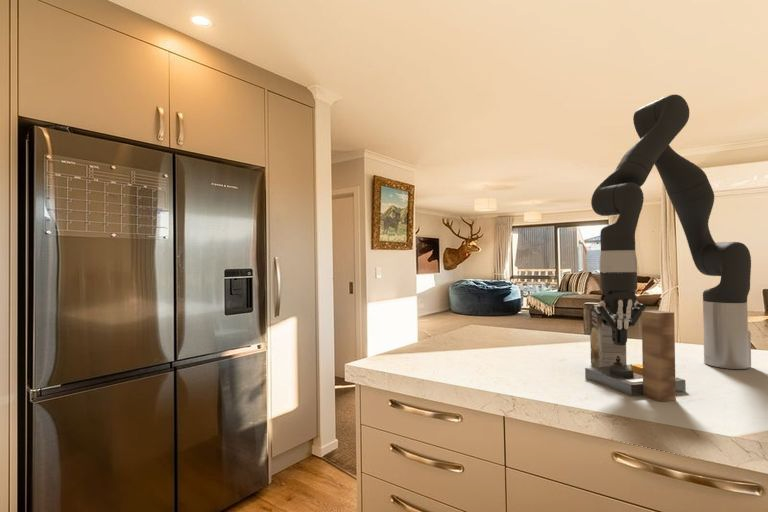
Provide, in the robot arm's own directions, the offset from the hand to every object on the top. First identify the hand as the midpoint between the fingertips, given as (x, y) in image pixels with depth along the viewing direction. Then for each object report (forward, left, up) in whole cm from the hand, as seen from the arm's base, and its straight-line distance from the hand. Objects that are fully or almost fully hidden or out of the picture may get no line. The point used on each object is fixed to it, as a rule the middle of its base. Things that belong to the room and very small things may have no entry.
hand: (619, 344), depth 94 cm
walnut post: (-1, +10, -9) cm, 13 cm away
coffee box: (-7, -12, -9) cm, 17 cm away
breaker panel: (-3, 0, -10) cm, 10 cm away
